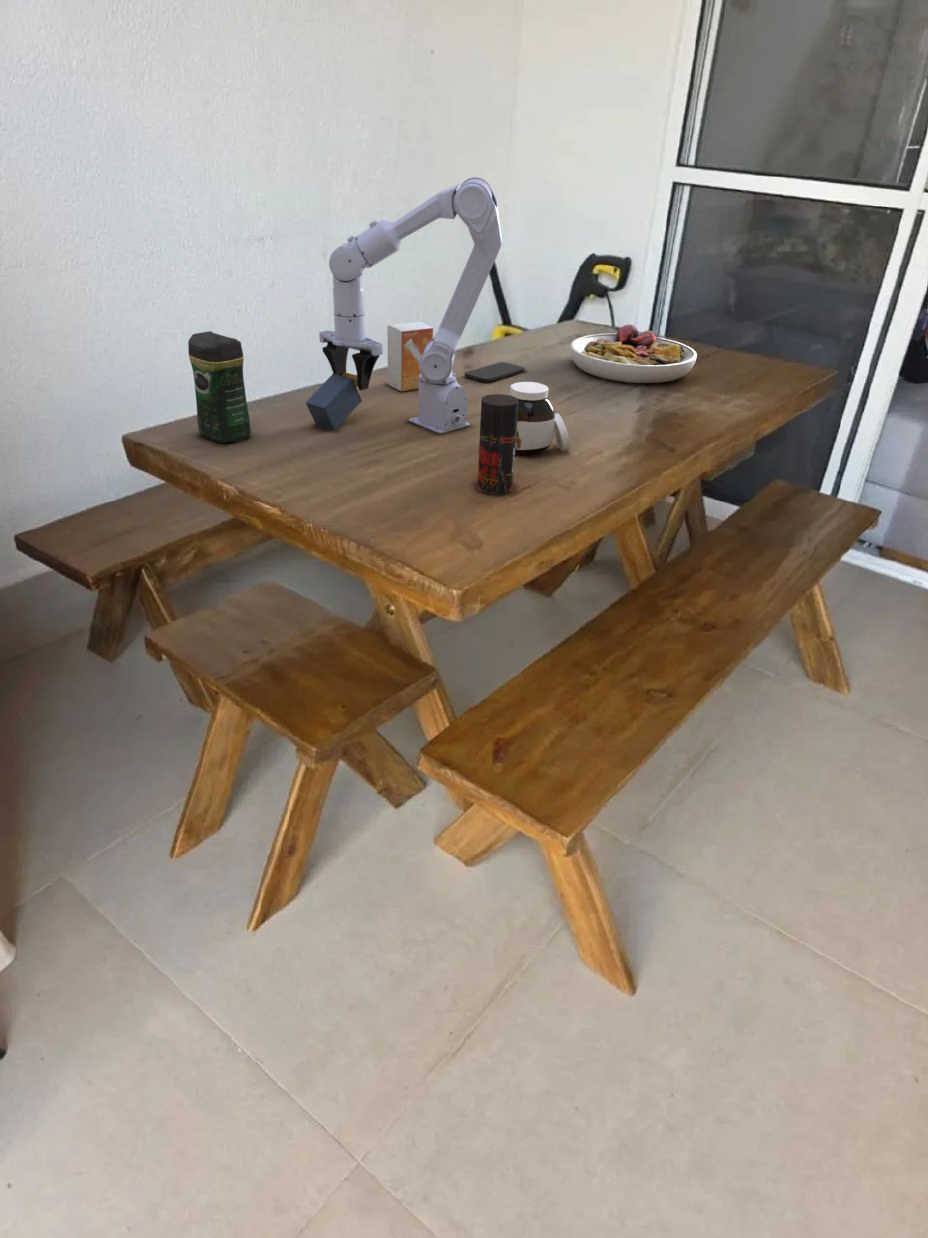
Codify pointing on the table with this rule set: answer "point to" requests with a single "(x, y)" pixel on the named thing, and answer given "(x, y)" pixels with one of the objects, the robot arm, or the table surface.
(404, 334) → the small box
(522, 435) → the spread jar
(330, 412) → the box
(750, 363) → the table surface
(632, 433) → the table surface
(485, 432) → the deodorant
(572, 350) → the bowl
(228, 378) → the coffee jar
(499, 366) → the phone
